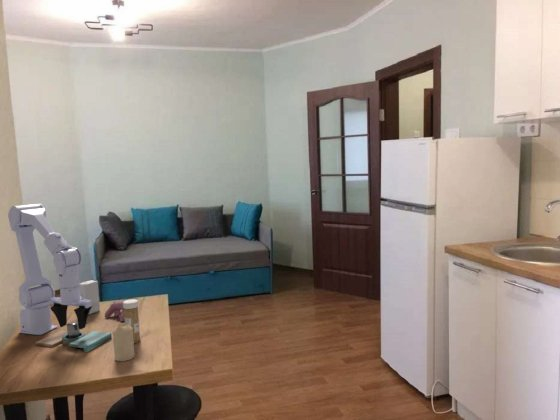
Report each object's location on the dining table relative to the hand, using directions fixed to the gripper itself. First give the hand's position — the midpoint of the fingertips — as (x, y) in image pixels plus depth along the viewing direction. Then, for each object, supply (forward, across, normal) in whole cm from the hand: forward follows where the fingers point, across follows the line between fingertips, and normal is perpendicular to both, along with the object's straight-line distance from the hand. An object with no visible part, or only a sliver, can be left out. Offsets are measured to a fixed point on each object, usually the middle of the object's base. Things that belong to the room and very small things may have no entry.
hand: (72, 327), depth 149 cm
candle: (+5, -24, +6) cm, 25 cm away
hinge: (+5, 0, 0) cm, 5 cm away
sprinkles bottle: (+5, -19, -5) cm, 20 cm away
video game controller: (+5, 0, -23) cm, 23 cm away
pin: (+5, 0, 0) cm, 5 cm away
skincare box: (+5, +15, -25) cm, 30 cm away
